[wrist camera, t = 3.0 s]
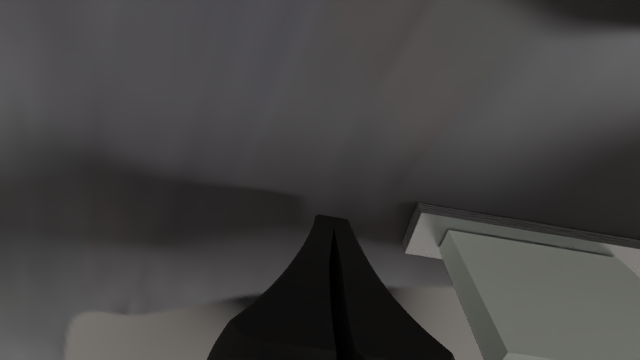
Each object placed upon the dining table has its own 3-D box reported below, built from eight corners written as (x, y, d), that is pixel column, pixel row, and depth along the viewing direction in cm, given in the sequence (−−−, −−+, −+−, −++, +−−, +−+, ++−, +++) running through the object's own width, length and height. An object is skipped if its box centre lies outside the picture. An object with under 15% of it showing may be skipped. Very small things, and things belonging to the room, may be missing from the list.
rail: (741, 257, 15) (760, 269, 14) (702, 291, 16) (719, 304, 16) (417, 202, 14) (421, 212, 14) (402, 242, 16) (405, 253, 15)
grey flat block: (618, 258, 14) (763, 390, 9) (602, 276, 15) (731, 410, 10) (448, 230, 14) (508, 352, 9) (438, 250, 15) (489, 374, 10)
